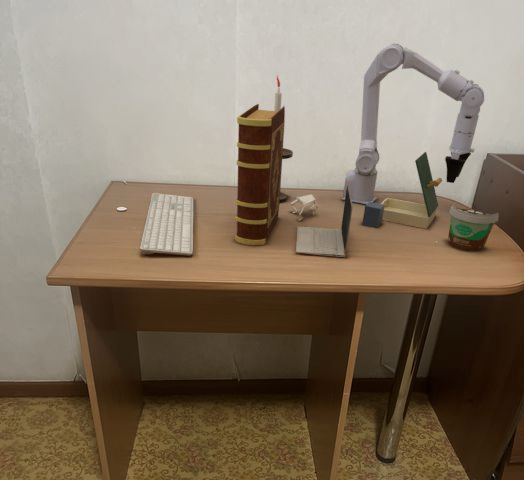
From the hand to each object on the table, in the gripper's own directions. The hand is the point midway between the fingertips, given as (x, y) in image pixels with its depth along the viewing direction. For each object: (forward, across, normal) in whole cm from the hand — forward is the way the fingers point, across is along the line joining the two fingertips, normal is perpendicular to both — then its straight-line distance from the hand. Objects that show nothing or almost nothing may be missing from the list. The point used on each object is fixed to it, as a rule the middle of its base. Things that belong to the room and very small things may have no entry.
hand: (452, 179), depth 157 cm
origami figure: (+10, -30, +36) cm, 48 cm away
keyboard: (+10, -58, +64) cm, 86 cm away
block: (+10, -25, +16) cm, 31 cm away
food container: (+10, -28, -10) cm, 32 cm away
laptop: (+10, -47, +24) cm, 53 cm away
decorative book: (+10, -48, +42) cm, 64 cm away
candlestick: (+10, -20, +51) cm, 55 cm away
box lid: (-1, -13, +5) cm, 14 cm away
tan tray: (+10, -14, +9) cm, 19 cm away
